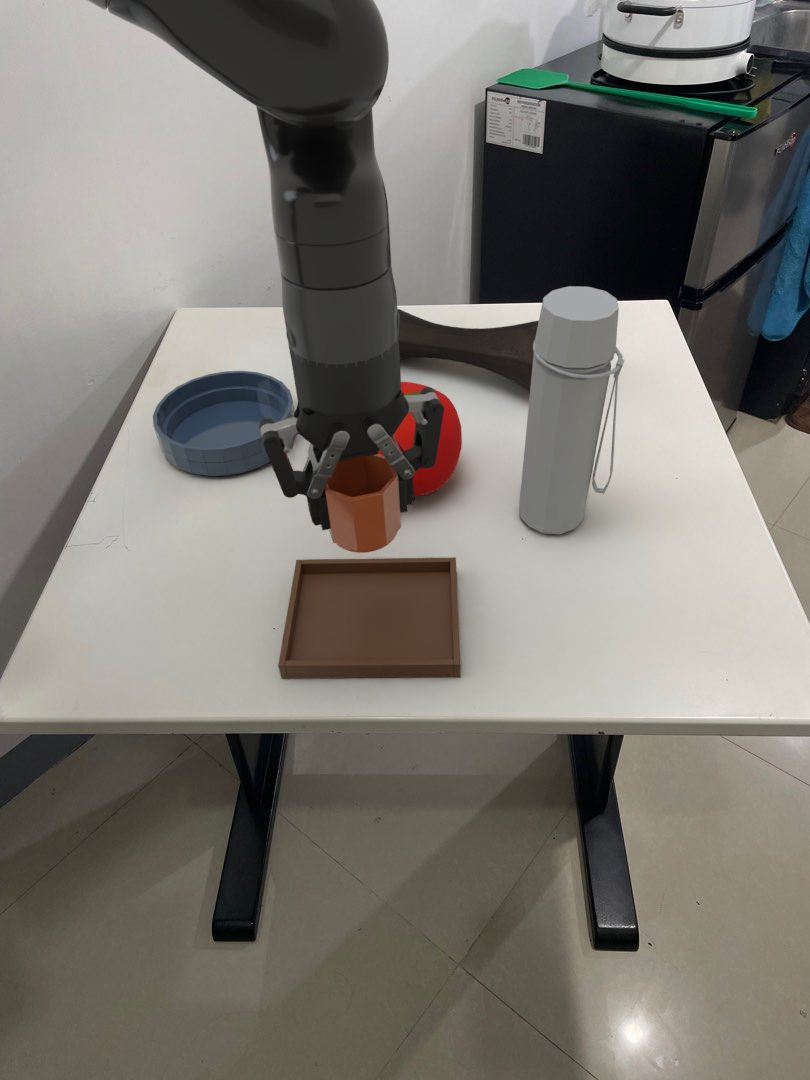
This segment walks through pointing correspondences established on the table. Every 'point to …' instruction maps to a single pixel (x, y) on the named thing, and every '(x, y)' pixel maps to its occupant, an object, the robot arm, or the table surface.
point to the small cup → (363, 503)
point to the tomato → (447, 449)
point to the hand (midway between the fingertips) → (362, 514)
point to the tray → (372, 619)
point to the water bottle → (568, 406)
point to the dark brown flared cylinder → (472, 346)
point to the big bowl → (220, 421)
